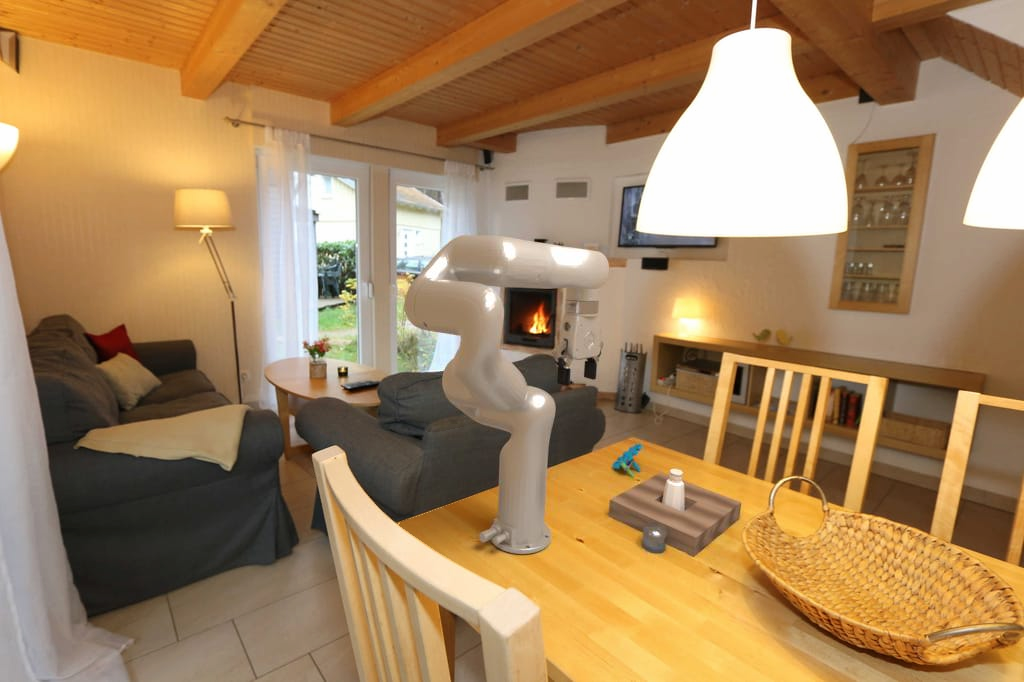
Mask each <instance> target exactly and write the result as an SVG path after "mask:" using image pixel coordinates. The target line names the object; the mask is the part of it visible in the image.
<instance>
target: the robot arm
mask: <svg viewBox="0 0 1024 682" xmlns="http://www.w3.org/2000/svg"><path fill="white" fill-rule="evenodd" d="M609 276H610V264H609V261H608V258H607V257H606V256H605V254H604V253H602V252H601V251H597V250H592V249H585V248H580V247H579V248H577V247H570V246H564V245H557V244H552V243H545V242H540V241H539V242H537V241H533V240H526V239H520V238H515V237H510V236H505V235H472V234H471V235H469V234H466V235H465V234H463V235H458V236H456V237H455V238H453V239H451V240H450V241H449V242H447V243H446V244H445V245H444V246H443V247H441V249H440V250H439V251H438V252H437V253H436V254H435V255H434V256H433V258H432V259H431V260H429V263H428V264H427V265H426V266H425V267H424V268H423V269H422V270H421V271H420V273H419V274H418V275H417V277H416V278H415V279H414V280H413V281H412V283H411V284H410V285H409V288H408V290H407V291H406V295H405V297H404V303H403V306H404V313H405V316H406V318H407V320H408V321H409V322H410V323H411V324H412V325H413V327H416V328H417V329H420V330H423V331H428V332H435V333H439V334H441V333H442V334H446V335H447V334H448V335H454V336H459V337H460V341H459V342H460V343H459V346H458V349H457V350H456V353H454V357H453V358H452V359H451V360H449V361H448V363H447V364H446V366H445V367H444V369H443V372H442V377H441V378H442V379H441V380H442V381H441V383H442V390H443V392H444V395H445V397H446V399H448V401H449V402H450V403H451V404H452V405H453V406H454V407H456V408H457V409H458V410H460V411H461V412H463V413H464V414H465V415H466V416H467V417H469V418H471V419H472V420H473V421H475V422H476V423H478V424H480V425H483V426H487V427H491V428H495V429H498V430H501V431H505V432H506V433H510V434H511V435H510V438H509V440H508V441H507V442H506V443H505V444H504V445H503V447H502V448H501V450H500V453H499V460H498V461H499V469H498V497H497V499H498V500H497V517H495V518H493V524H491V526H490V528H489V529H486V530H483V531H480V533H478V538H479V541H480V542H481V543H487V542H488V541H490V542H491V543H492V544H493V545H494V546H495V548H498V549H499V550H502V551H504V552H506V553H507V552H508V553H509V554H510V553H511V554H517V555H526V554H527V555H529V554H534V553H537V552H541V551H543V550H545V548H547V547H548V546H549V544H550V543H551V541H552V531H551V529H550V527H549V526H548V525H547V524H546V523H545V518H546V517H545V515H546V514H545V513H546V496H547V494H546V493H547V475H548V458H549V448H550V447H549V446H550V439H551V433H552V430H553V424H554V421H555V417H556V409H557V408H556V402H555V399H554V398H553V396H552V395H551V394H550V393H548V392H547V391H545V390H543V389H541V388H539V387H535V386H531V385H528V383H527V381H526V379H525V377H524V375H523V374H522V372H521V371H520V369H518V368H517V367H516V366H515V365H514V363H513V362H511V361H510V359H509V358H508V357H507V356H506V355H505V354H504V353H503V351H502V350H501V340H502V333H503V325H504V319H505V308H504V303H503V300H502V298H501V296H500V295H499V293H498V292H497V291H496V290H495V289H493V288H492V287H495V288H522V289H544V290H545V289H547V290H548V289H565V300H564V301H565V302H564V314H563V316H562V317H563V318H562V321H561V325H560V326H561V327H560V334H559V343H558V344H557V345H556V346H555V347H554V348H553V349H552V351H551V352H552V355H553V361H554V362H555V364H556V367H557V379H556V381H557V384H558V385H561V386H564V387H568V386H569V387H570V384H571V368H570V366H571V364H572V363H573V361H574V360H575V361H580V360H585V361H584V367H583V369H584V370H583V377H584V378H585V379H589V380H594V381H595V380H596V379H597V367H598V363H599V361H600V356H601V355H602V350H603V348H604V342H603V341H601V340H602V339H601V338H602V336H601V334H602V330H601V329H602V327H601V317H600V314H599V307H600V306H599V304H600V291H601V290H600V289H601V288H602V287H603V286H604V285H605V284H606V282H607V281H608V278H609Z"/></svg>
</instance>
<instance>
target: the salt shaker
mask: <svg viewBox="0 0 1024 682" xmlns="http://www.w3.org/2000/svg"><path fill="white" fill-rule="evenodd" d="M683 475H684V472H683V470H680V469H677V468H671V469H669V476H670V479H668V480H667V481H666V485H665V490H664V495H663V499H662V503H663V504H665V505H668V506H670V507H672V508H675V509H677V510H680V511H682V512H683V511H684V483H683V482H682V480H683Z"/></svg>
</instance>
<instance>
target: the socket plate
mask: <svg viewBox="0 0 1024 682" xmlns="http://www.w3.org/2000/svg"><path fill="white" fill-rule="evenodd" d="M668 479H670V474H666V473H664V472H659V473H656V475H653V476H651V477H649V478H648V479H646V480H644V481H642V482H640V483H639V484H636V485H634V486H632V487H630V488H629V489H627V490H625V491H623V492H621V493H620V494H618V495H616V496H614V497H612V498H611V499H609V507H608V517H609V518H612V519H614V520H616V521H618V522H620V523H622V524H624V525H626V526H628V527H631V528H633V529H635V530H636V531H639V532H641V533H643V527H644V525H645V524H647V523H657V524H660V525H663V526H664V527H665V528H666V529H667V540H666V545H669V546H670V547H673V548H675V549H676V550H678V551H681V552H682V553H685V554H687V555H690V556H691V557H693V558H694V557H696V555H698V554H699V553H700V552H701V551H703V550H704V549H705V548H706V547H707V546H708V545H710V544H711V543H712V542H714V540H716V539H717V538H718V537H719V536H720V535H723V533H724V532H725V531H726V530H728V529H729V528H730V527H731V526H733V525H735V523H736V522H737V521H739V520H740V516H741V507H742V502H741V501H739V500H736V499H733V498H731V497H728V496H725V495H723V494H720V493H717V492H714V491H712V490H709V489H706V488H705V487H702V486H698V485H696V484H693V483H690V482H687V481H686V480H683V479H682V482H683V483H684V511H683V512H682V511H680V510H677V509H675V508H672V507H670V506H668V505H665V504H663V503H662V499H663V495H664V490H665V485H666V481H667V480H668Z"/></svg>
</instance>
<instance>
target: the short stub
mask: <svg viewBox="0 0 1024 682" xmlns="http://www.w3.org/2000/svg"><path fill="white" fill-rule="evenodd" d="M666 540H667V529H666V528H665V527H664V526H663V525H660V524H657V523H647V524H645V525H644V527H643V532H642V540H641V541H642V542H641V548H643V550H645V551H646V552H648V553H650V554H655V555H657V554H658V555H659V554H663V553H665V551H666V549H667V544H666Z"/></svg>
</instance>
